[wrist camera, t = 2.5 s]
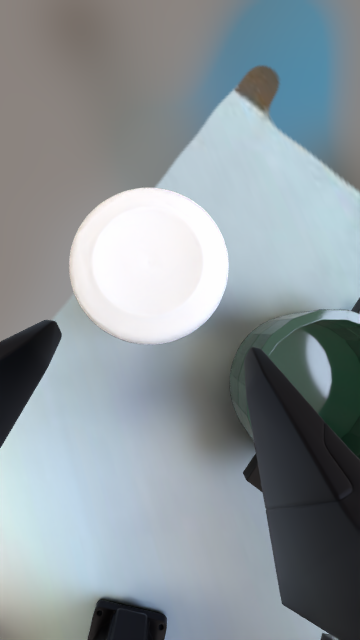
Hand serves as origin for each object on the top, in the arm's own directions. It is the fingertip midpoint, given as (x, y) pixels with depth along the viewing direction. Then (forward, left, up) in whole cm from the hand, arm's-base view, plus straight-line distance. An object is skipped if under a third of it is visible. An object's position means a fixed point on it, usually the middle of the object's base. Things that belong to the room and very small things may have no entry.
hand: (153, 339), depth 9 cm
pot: (-2, -14, -10) cm, 17 cm away
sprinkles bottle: (+2, 0, -10) cm, 10 cm away
